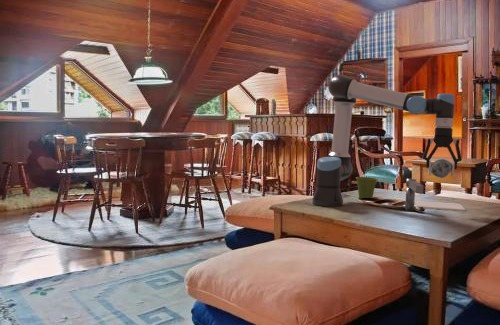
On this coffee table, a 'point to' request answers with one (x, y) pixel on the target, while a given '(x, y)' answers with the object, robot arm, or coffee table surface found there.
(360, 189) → the plant pot
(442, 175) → the grey streaked egg shape
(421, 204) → the board
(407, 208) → the latch post
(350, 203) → the coffee table surface
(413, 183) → the bar
